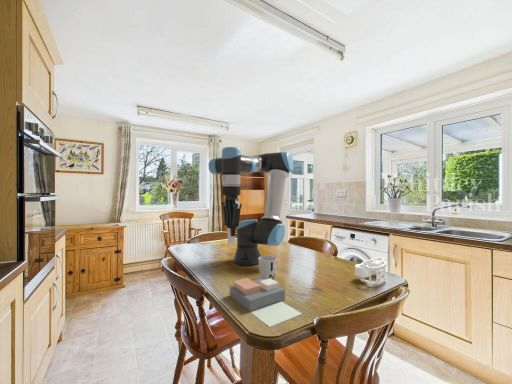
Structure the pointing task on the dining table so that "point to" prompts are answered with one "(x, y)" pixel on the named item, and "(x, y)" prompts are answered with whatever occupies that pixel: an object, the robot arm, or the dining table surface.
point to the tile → (247, 286)
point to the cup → (267, 266)
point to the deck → (258, 297)
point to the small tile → (268, 284)
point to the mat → (276, 314)
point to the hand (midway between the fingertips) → (231, 243)
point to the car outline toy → (372, 266)
